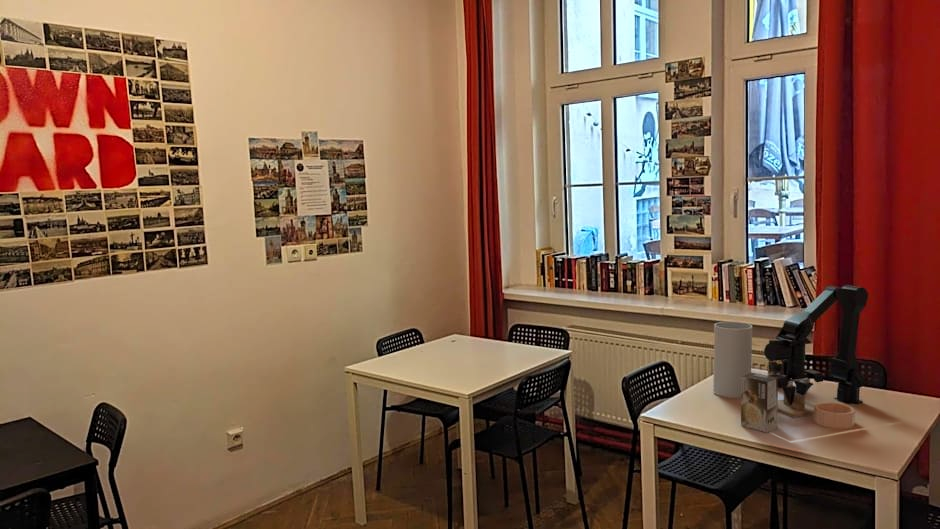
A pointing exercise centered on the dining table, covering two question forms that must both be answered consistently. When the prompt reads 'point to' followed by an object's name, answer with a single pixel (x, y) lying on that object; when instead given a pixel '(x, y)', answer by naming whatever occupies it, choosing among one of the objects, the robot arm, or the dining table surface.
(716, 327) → the cylinder vase
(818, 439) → the dining table surface
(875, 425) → the dining table surface
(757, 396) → the coffee box
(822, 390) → the dining table surface
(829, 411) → the terracotta bowl
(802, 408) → the walnut lid
